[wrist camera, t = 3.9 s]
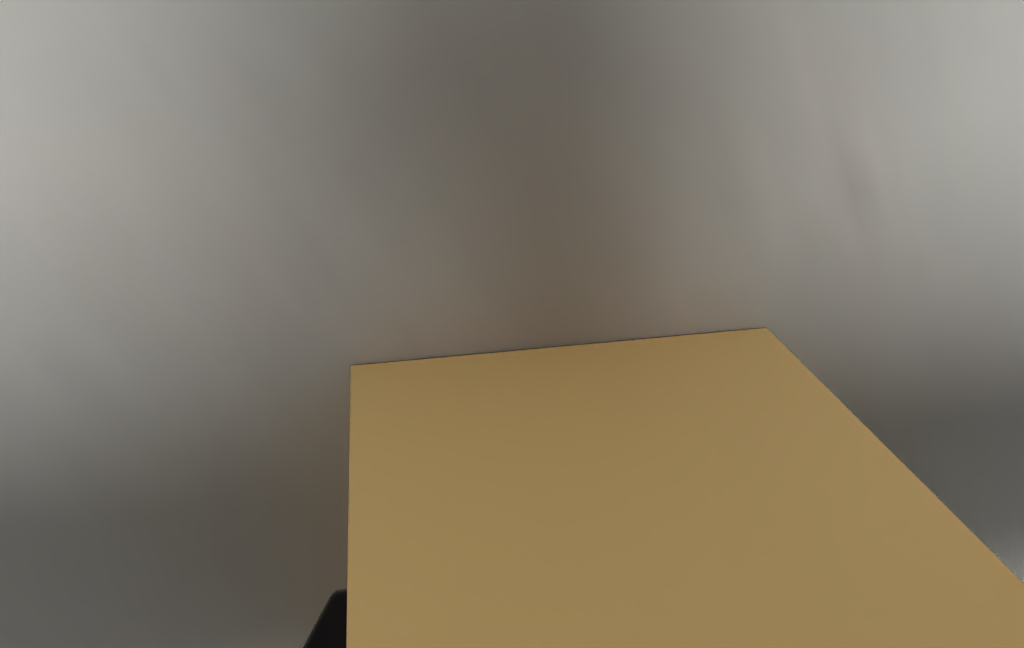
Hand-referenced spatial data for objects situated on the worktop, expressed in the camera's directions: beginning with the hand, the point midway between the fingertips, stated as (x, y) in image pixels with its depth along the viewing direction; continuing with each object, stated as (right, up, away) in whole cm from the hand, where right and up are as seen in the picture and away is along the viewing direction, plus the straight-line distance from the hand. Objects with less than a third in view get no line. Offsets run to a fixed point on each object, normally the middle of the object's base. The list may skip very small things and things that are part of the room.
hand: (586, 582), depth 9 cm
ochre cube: (0, +1, +1) cm, 1 cm away
